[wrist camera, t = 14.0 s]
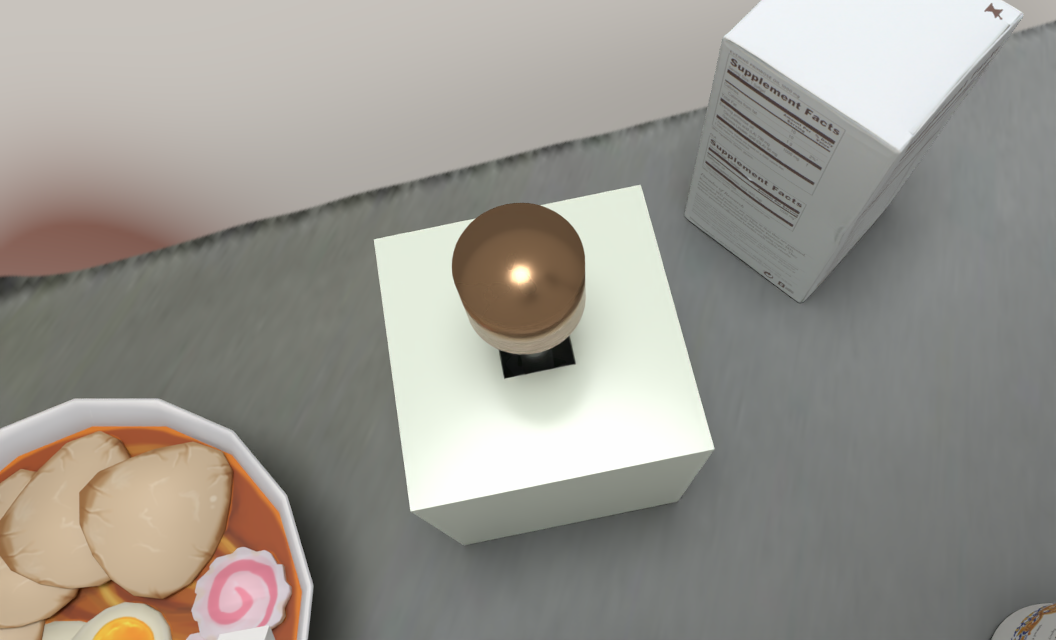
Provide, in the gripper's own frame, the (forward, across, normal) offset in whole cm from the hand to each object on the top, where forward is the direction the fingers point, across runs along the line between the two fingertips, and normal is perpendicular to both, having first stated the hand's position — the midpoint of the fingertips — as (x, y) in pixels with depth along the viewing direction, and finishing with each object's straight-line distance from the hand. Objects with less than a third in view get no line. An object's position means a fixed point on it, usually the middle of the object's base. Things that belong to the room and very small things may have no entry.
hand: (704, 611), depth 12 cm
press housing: (+31, -2, -14) cm, 34 cm away
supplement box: (+38, +15, -8) cm, 42 cm away
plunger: (+29, -2, -13) cm, 32 cm away
